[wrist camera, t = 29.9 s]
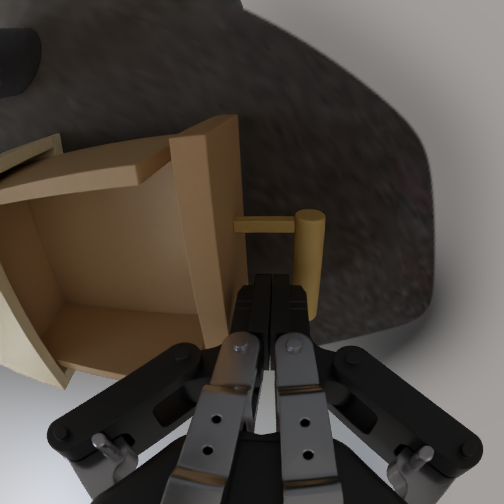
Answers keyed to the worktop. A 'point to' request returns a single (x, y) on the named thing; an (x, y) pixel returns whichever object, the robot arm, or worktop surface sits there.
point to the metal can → (18, 59)
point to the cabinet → (7, 305)
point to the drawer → (139, 246)
